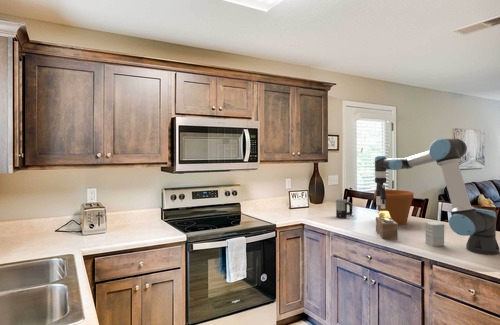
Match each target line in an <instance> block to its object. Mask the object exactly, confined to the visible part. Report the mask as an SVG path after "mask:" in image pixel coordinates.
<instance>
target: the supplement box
mask: <svg viewBox="0 0 500 325" xmlns="http://www.w3.org/2000/svg"><path fill="white" fill-rule="evenodd" d="M424 225H425V226H424V227H425V229H424V230H425V236H424V237H425V244H427V245H430V246H432V247H437V246H441V245H442V246H445V224H444V223H441V222H439V221H430V222H429V221H427V222H426V221H425V224H424Z"/></svg>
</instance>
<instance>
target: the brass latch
mask: <svg viewBox="0 0 500 325" xmlns="http://www.w3.org/2000/svg"><path fill="white" fill-rule="evenodd" d="M377 214H378V217H380V219H384V218H390V219H391V217H390V214H389V211H378V210H377Z"/></svg>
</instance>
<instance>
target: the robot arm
mask: <svg viewBox="0 0 500 325" xmlns="http://www.w3.org/2000/svg"><path fill="white" fill-rule="evenodd" d="M428 148H429V149H428V150H427V151H424V152H420V153H417V154H414V155H410V156H406V157H404V158H403V157H401V158H399V157H398V158H397V157H396V158H387V156H386V155H375V156H374V182H375V183H376V187H375V188H376V189H375V191H376V199H375V202H376V206H377V205H381V209H385V199H386V193H385V190H386V185H385V184H386V183H387V174H388V172H387V170H391V171H399V170H409V169H413V168H414V167H419V166H422V165H426V164H431V163H434V162H436V165H438V166H439V167H440V169H441V172H442V176H443V179H444V182H445V185H446V186H445V187H446V189H447V193H448V196H449V200H450V203H451V207H452V208H451V210H450V215H451V216H450V217H449V219H448V225H449V227H450V229H451V230H452V231H453V232H454V233H455V234H457V235H459V236H463V237H464V236H467V237H468V239H467V241H466V244H465V246H466V247H465V248H466V249H465V250H468V251H469V252H473V253H477V254H482V255H497V254H500V246H499V243H498V240H497V236H496V235H497V234H496V233H497V214H496V213H497V212H495V211H494V210H490V209H483V208H476V207H474V206H472V205H471V201H470V198H469V194H468V192H467V191H468V190H467V188H466V184H465V180H464V178H463V175H462V172H461V168H460V165H459V162H460V161H461V158H462V157H463V156H465V155H466V154H467V151H468V146H467V144H466V142H464V141H463V140H462V139H460V138H438V139H435V140H434V141H433V142H431V144H430V146H429V147H428ZM380 194H381V195H380ZM380 196H381V197H380Z"/></svg>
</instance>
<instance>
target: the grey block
mask: <svg viewBox="0 0 500 325" xmlns="http://www.w3.org/2000/svg"><path fill="white" fill-rule="evenodd" d="M384 221H385V223H393V220H391V219H390V218H384Z"/></svg>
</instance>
